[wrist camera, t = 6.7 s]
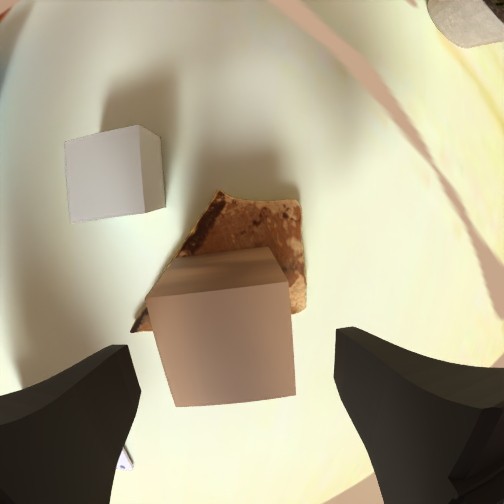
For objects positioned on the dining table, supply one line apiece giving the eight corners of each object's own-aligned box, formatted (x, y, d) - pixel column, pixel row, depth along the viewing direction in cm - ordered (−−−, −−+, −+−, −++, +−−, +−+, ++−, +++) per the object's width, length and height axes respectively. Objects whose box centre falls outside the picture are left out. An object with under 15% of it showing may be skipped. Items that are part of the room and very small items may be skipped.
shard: (136, 323, 19) (128, 335, 17) (113, 206, 17) (101, 208, 15) (303, 306, 19) (309, 318, 17) (293, 182, 17) (300, 181, 15)
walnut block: (191, 340, 17) (176, 406, 11) (175, 258, 16) (144, 298, 10) (276, 330, 17) (295, 395, 11) (268, 246, 16) (288, 281, 10)
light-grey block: (103, 214, 17) (70, 223, 13) (98, 149, 16) (64, 141, 12) (166, 206, 17) (145, 213, 13) (160, 137, 16) (138, 124, 12)
